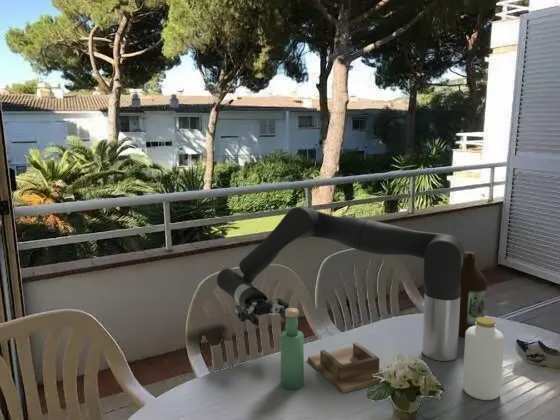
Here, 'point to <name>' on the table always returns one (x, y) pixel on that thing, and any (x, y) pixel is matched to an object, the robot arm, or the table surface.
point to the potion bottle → (483, 360)
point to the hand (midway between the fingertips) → (272, 319)
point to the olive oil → (471, 293)
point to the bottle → (292, 353)
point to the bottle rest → (348, 367)
